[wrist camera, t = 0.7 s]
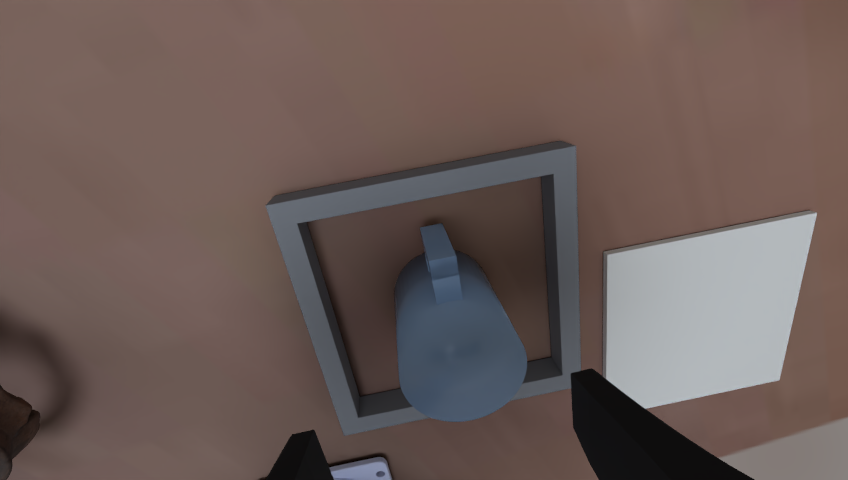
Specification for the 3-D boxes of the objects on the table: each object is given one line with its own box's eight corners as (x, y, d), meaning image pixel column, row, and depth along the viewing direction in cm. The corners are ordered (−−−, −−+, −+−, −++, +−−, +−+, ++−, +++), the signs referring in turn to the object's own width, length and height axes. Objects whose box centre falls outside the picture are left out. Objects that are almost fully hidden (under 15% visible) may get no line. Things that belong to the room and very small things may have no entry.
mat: (773, 375, 25) (779, 380, 24) (602, 411, 24) (605, 417, 24) (809, 210, 21) (816, 212, 20) (603, 251, 20) (607, 254, 20)
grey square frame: (569, 367, 23) (581, 386, 21) (346, 413, 22) (344, 435, 21) (561, 140, 18) (575, 145, 16) (274, 195, 18) (265, 205, 16)
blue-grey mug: (492, 322, 21) (531, 407, 16) (403, 340, 21) (411, 432, 16) (477, 206, 19) (518, 258, 13) (377, 225, 19) (375, 287, 13)
